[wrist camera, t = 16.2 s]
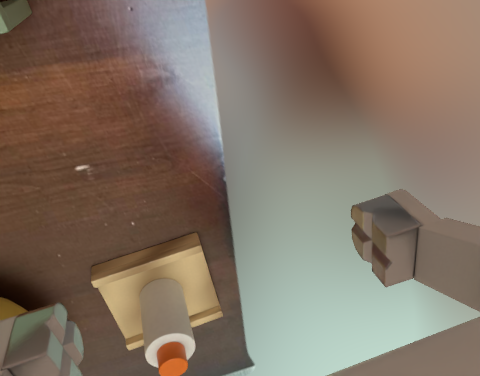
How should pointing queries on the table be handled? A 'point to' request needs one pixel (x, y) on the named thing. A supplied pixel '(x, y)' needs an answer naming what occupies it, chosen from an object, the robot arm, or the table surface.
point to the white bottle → (166, 327)
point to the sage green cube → (13, 14)
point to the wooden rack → (152, 268)
